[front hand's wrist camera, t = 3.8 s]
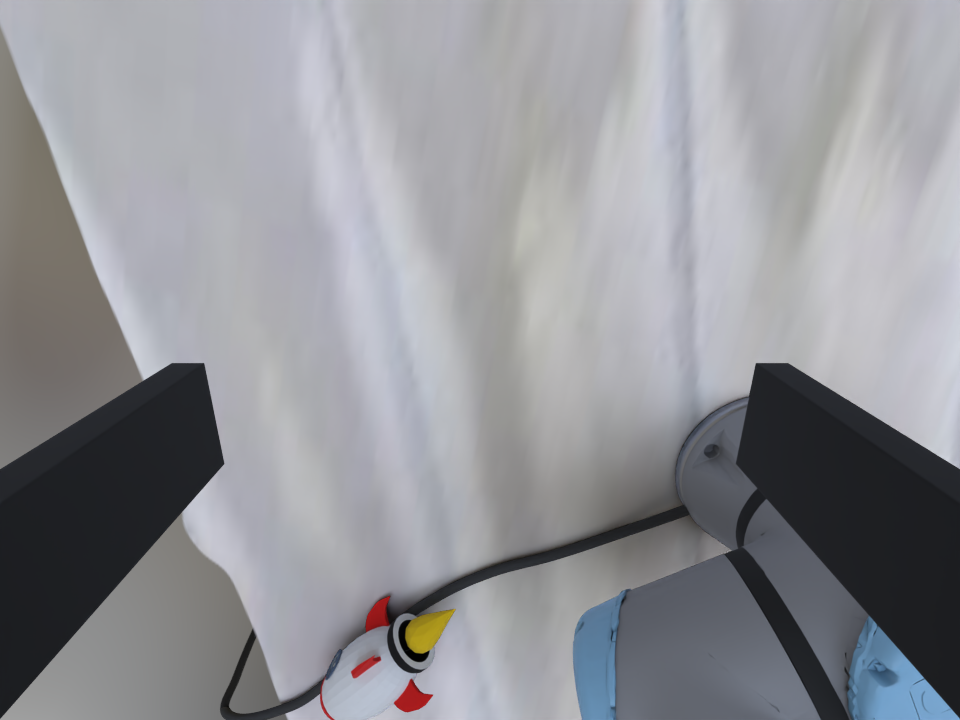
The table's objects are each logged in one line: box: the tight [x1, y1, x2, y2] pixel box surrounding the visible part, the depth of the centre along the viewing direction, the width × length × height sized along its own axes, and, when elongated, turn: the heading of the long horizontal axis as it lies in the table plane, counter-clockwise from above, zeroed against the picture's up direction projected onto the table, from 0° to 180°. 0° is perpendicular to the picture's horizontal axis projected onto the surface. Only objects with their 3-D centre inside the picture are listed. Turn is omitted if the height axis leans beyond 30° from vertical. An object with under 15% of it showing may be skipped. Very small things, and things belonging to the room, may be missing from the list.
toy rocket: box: [320, 596, 456, 720], centre depth 52 cm, size 9×10×20 cm
